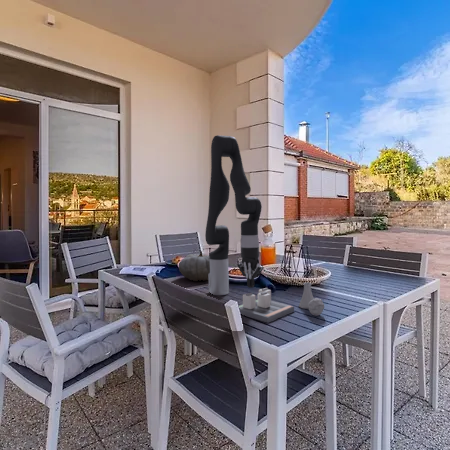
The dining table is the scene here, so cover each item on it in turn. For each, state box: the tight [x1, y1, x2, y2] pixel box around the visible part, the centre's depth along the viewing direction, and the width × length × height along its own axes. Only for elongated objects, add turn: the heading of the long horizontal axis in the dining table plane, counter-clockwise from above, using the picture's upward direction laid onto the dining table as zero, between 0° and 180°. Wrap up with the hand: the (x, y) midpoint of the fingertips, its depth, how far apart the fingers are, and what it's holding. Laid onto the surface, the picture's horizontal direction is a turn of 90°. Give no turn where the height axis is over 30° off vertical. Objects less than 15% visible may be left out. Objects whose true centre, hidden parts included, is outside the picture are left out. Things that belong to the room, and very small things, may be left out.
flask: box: [298, 282, 314, 310], centre depth 135 cm, size 7×7×10 cm
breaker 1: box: [242, 292, 257, 309], centre depth 129 cm, size 4×3×6 cm
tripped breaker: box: [257, 292, 271, 308], centre depth 130 cm, size 4×3×6 cm
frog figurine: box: [308, 297, 325, 317], centre depth 124 cm, size 6×7×7 cm
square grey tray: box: [238, 298, 295, 323], centre depth 130 cm, size 17×17×2 cm
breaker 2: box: [258, 287, 272, 302], centre depth 136 cm, size 4×3×6 cm
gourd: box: [178, 250, 210, 282], centre depth 189 cm, size 25×25×17 cm
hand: (250, 287), depth 134 cm, fingers closed
